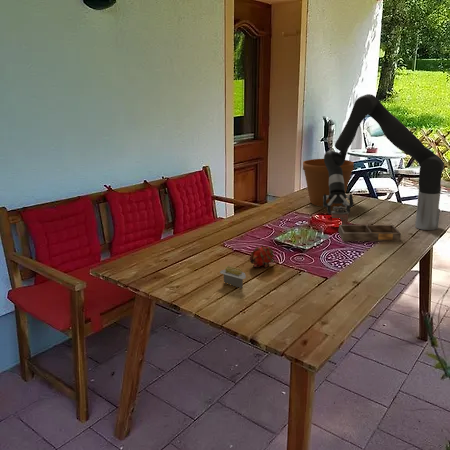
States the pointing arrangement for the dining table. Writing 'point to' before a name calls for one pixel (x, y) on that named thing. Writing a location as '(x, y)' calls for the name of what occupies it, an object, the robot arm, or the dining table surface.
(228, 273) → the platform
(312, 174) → the flowerpot
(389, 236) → the divided wooden tray
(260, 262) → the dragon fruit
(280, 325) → the dining table surface
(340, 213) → the lighter
